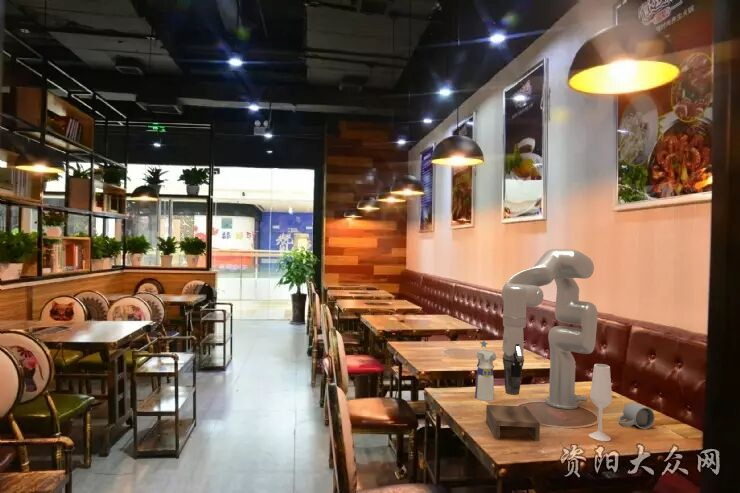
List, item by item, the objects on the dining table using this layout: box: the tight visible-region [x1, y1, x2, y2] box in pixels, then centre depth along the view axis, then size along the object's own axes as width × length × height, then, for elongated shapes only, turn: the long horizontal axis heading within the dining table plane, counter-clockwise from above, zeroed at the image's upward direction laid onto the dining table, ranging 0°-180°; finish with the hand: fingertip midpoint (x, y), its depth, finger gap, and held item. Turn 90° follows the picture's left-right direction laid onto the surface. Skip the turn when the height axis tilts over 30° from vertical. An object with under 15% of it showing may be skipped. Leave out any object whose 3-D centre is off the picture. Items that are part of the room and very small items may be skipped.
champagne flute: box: [588, 363, 613, 442], centre depth 160 cm, size 7×7×24 cm
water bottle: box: [474, 339, 497, 402], centre depth 199 cm, size 8×9×25 cm
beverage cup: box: [502, 352, 525, 396], centre depth 164 cm, size 7×7×20 cm
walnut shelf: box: [485, 404, 541, 442], centre depth 164 cm, size 14×16×6 cm
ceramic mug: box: [617, 402, 656, 430], centre depth 173 cm, size 11×8×8 cm
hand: (512, 373), depth 164 cm, fingers closed on beverage cup, 6 cm apart
